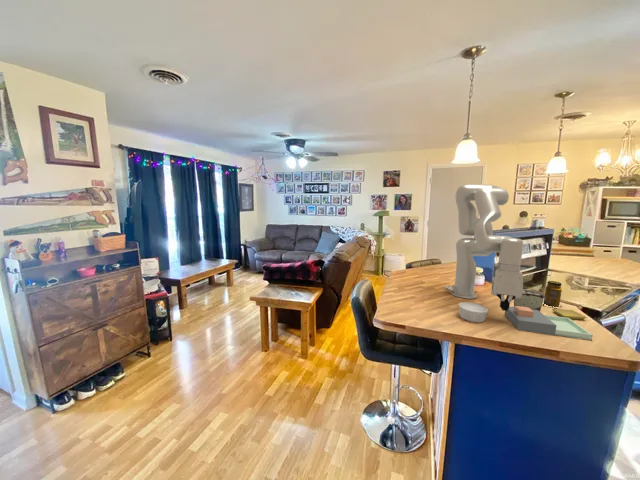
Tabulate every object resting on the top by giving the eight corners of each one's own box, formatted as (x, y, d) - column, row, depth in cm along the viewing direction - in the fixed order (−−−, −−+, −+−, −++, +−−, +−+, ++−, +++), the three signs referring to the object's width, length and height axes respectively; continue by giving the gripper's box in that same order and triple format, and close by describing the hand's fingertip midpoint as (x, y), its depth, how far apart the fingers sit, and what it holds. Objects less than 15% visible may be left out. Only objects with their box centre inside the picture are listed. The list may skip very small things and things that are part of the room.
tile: (518, 315, 109) (518, 309, 109) (513, 311, 114) (514, 305, 113) (532, 317, 107) (533, 311, 107) (527, 312, 112) (528, 307, 112)
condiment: (562, 306, 132) (565, 282, 131) (556, 309, 128) (560, 285, 126) (544, 301, 138) (547, 279, 137) (538, 304, 134) (541, 281, 132)
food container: (537, 311, 125) (539, 290, 124) (543, 316, 119) (545, 294, 118) (506, 307, 129) (508, 287, 128) (510, 311, 123) (513, 291, 122)
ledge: (517, 329, 105) (519, 320, 104) (504, 314, 120) (505, 306, 119) (555, 335, 101) (556, 325, 101) (536, 318, 116) (537, 310, 116)
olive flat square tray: (563, 320, 116) (564, 315, 116) (550, 312, 125) (551, 308, 124) (586, 322, 115) (587, 317, 114) (572, 314, 123) (572, 309, 123)
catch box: (555, 335, 101) (555, 329, 101) (536, 318, 116) (537, 313, 116) (591, 340, 97) (592, 334, 97) (568, 322, 112) (568, 317, 112)
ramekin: (474, 325, 108) (476, 313, 107) (451, 315, 118) (452, 303, 118) (493, 321, 113) (494, 309, 112) (469, 311, 123) (470, 300, 122)
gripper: (490, 267, 109) (486, 310, 112) (534, 271, 104) (528, 315, 107) (486, 264, 116) (481, 304, 119) (526, 267, 111) (521, 309, 114)
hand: (504, 309), depth 113 cm, fingers closed
